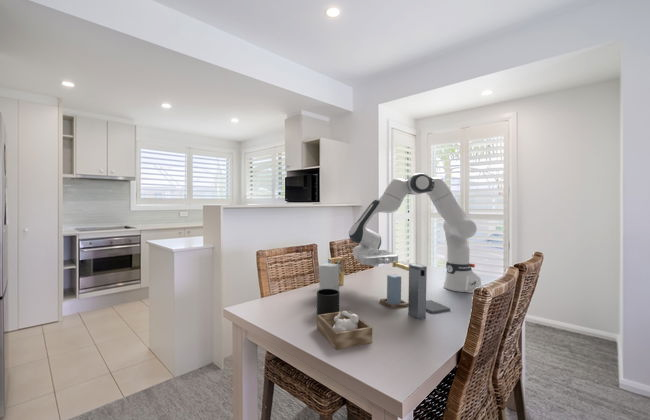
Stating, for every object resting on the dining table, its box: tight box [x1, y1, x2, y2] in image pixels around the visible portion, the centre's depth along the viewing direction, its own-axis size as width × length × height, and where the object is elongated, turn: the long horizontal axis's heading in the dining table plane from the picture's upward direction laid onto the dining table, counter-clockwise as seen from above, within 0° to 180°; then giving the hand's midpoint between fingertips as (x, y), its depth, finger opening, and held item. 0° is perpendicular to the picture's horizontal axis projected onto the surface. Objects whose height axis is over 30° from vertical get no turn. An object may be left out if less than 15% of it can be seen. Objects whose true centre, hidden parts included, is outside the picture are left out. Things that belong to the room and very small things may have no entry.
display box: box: [316, 310, 373, 350], centre depth 106 cm, size 13×17×5 cm
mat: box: [426, 299, 451, 315], centre depth 135 cm, size 10×12×1 cm
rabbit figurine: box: [333, 310, 359, 332], centre depth 106 cm, size 12×8×10 cm, turn 78°
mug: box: [316, 289, 341, 315], centre depth 128 cm, size 9×12×9 cm
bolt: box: [392, 260, 409, 272], centre depth 132 cm, size 2×15×2 cm, turn 23°
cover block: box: [386, 274, 402, 305], centre depth 139 cm, size 4×4×13 cm
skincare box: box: [318, 262, 340, 292], centre depth 151 cm, size 8×7×16 cm
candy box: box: [327, 256, 345, 286], centre depth 170 cm, size 9×4×15 cm, turn 129°
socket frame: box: [379, 297, 408, 310], centre depth 139 cm, size 10×10×1 cm
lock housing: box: [407, 263, 428, 320], centre depth 124 cm, size 4×6×21 cm, turn 23°
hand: (387, 262), depth 144 cm, fingers closed
